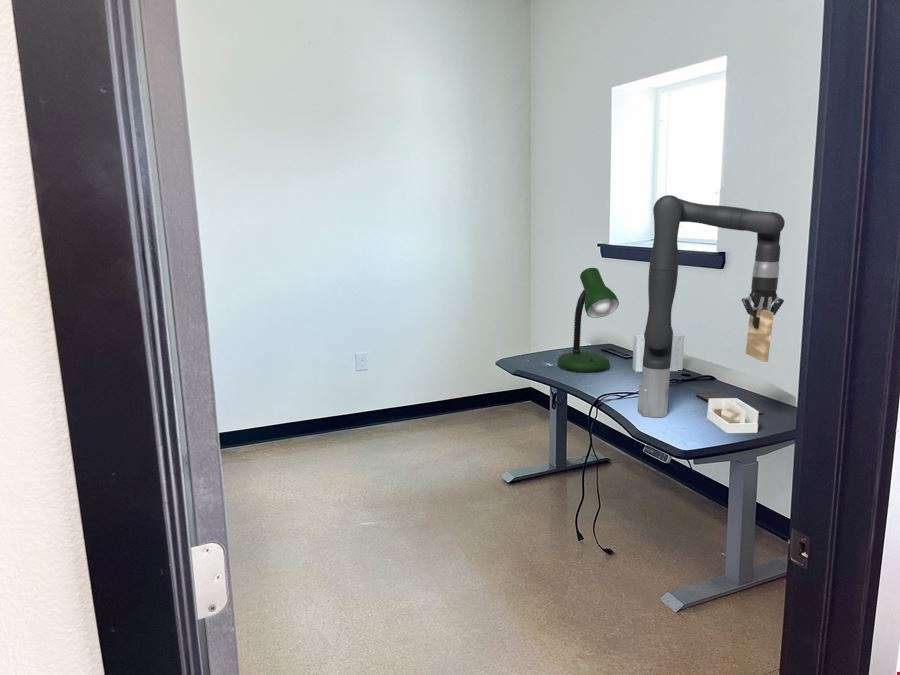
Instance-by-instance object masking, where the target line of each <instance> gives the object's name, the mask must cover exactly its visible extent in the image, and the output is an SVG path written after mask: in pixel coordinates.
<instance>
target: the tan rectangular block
mask: <svg viewBox="0 0 900 675" xmlns="http://www.w3.org/2000/svg"><path fill="white" fill-rule="evenodd" d="M752 308H753V306H752ZM773 314H774V313H773V312H770V311H767V310H764V309H762V310H761V313H760V317H759V318H760V322H759V328H758V329H756V328H754V326H753V325H752V323H753V316H752V315H750V314H749V317H748V319H749V320H748V329H747V336H746V346H745V354H746V355H748V356H750V357H752V358H754V359H756V360H758V361H760V362H762V363H765V362H769V358H770V357H769V356H770V347H771V339H772V338H771V337H772V330H773V320H774V315H773Z"/></svg>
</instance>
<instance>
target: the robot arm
mask: <svg viewBox="0 0 900 675" xmlns="http://www.w3.org/2000/svg"><path fill="white" fill-rule="evenodd" d="M652 211H653V225H654V226H653V228H654V230H653V231H654V232H653V233H654V234H653V243H652V248H651V254H650V260H649V269H648V279H647V281H648V282H647V283H648V286H647V287H648V290H647V291H648V292H647V293H648V294H647V295H648V315H647V320H646V325H645V328H644V329H645V330H644V334H643V335H644V338H645V344H644V355H643V367H642V372H641V383H640V385H638V398H637V399H638V400H637V412H638V413H639V414H640V415H642V417H648V418H649V417H650V418H664V417H666V416H667V414H668V403H669V402H668V401H669V388H670V376H671V371H670V365H671V354H672V341H673V334H674V331H673V327H672V311H673V310H672V309H673V303H674V300H675V299H674V298H675V296H676V295H675V294H676V290H677V285H678V284H677V283H678V274H679V273H678V272H679V250H678V249H679V248H678V237H679V228H680V224H681V223H695V224H703V225H707V226H710V227H711V226H712V227H715V228H716V227H717V228H719V229H727V230H734V231H742V232H745V231H747V232H751V233H756V234H757V235H756V240H757V242H756V243H757V244H756V249H755V256H754V257H755V258H754V265H753V268H752V276H751V277H752V278H751V286H750V287H751V288H750V289H751V291H750V293H749V296H747V297H746V298H745V297H743V298H742V299H741V302H742V304H743V306H744V308H745V311H746V313H747V315H749V316H750V315H752V316H753V323H752V325H753V326H754V328H756V329H758V328H759V322H760V318H759V317H760V313H761V310H762V309H764V310H767V311H770V312H773V313H774V314H773V316H776V314H777V313H778V311H779V309H780V308H781V306H782V305H783V304H784V303H785V299H784V298H781V297H779V296H778V294H777V290H778V284H779V275H780V274H779V273H780V258H781V256H780V255H781V245H780V240H781V231H783V229H785V222H786V221H785V218H784V217H783V216H782V215H781V214H780V213H778V212H773V211H762V210H752V209H748V208H743V207H736V206H729V205H713V204H703V203H696V202H692V201H688V200H686V199H682V198H679V197H677V196H676V195H672V194H671V195H670V194H668V195H667V194H666V195H663V196H662V197H661V196H660V197H659V199H657V200H656V201H655V203H654V206H653V208H652ZM752 303H753V305H752ZM752 307H753V308H752Z"/></svg>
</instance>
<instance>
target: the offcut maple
mask: <svg viewBox="0 0 900 675" xmlns="http://www.w3.org/2000/svg"><path fill="white" fill-rule="evenodd" d="M721 418H723V419H724V420H726V421H728V422H730V423H732V422H739V420H740V413H739V412H737V411H735V410H733V409H731V408H730V409H722V412H721Z"/></svg>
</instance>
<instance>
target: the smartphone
mask: <svg viewBox="0 0 900 675" xmlns="http://www.w3.org/2000/svg"><path fill="white" fill-rule="evenodd" d="M695 398H698V399H700V400H702V401H703V402H705V403H707V404H708V400H709V399H713V398H734V397H732V395H729V394H727V393H725V392H718V391H716V392H702V393H697V394H695ZM749 406H750V407H752V408H754V409H755V410H757V411H758V412H759V413H758V416H761V415H762V416H763V415H765V412H763V411H761V410H759V409H757V408H755V407H753V406H751V405H749Z"/></svg>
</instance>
